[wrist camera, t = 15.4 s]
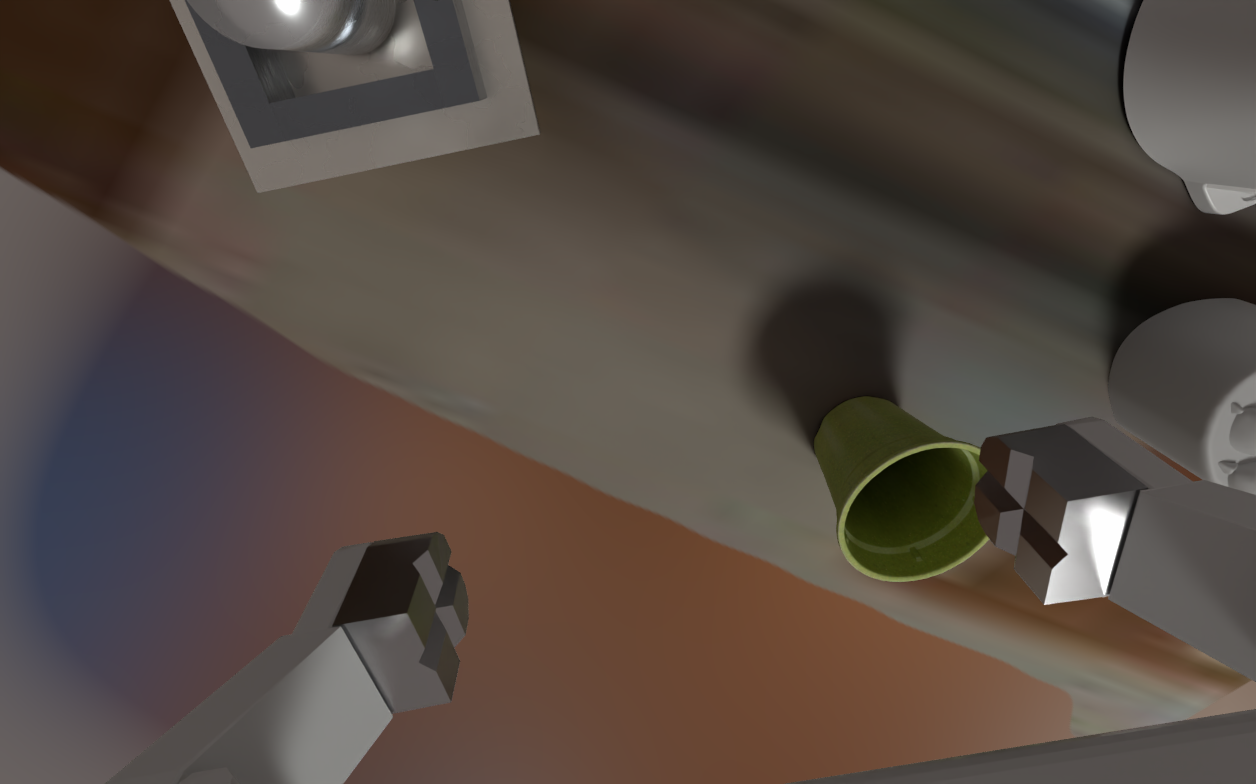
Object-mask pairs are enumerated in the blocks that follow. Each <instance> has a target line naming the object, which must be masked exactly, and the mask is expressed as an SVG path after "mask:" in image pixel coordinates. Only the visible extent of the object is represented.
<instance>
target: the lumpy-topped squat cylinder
mask: <svg viewBox="0 0 1256 784" xmlns="http://www.w3.org/2000/svg"><path fill="white" fill-rule="evenodd" d="M1108 393H1109V399H1110V404H1111V407H1112V411H1113V414H1114V417H1115V419H1116V421H1117V423H1118V424H1119V425H1120V426H1122V427H1123V428H1124V429H1125V430H1127V431H1128V432H1130V433H1131V434H1133V435H1134V436H1136V437H1137V438H1139V439H1140V440H1142V441H1144V442H1145V443H1147V444H1148V445H1150V446H1151V447H1153V448H1154V449H1156V450H1158V451H1159V452H1161V453H1162V454H1164V455H1165V456H1167V457H1168V458H1170V459H1172V460H1173V461H1175V462H1176V463H1178V464H1179V465H1181V466H1182V467H1184V468H1185V469H1187V470H1189V471H1190V472H1192V473H1193V474H1195V475H1196V476H1198V477H1199V478H1201V479H1203V480H1207V481H1210V482H1213V483H1217V484H1220V485H1224V486H1227V487H1230V488H1234V489H1237V490H1241V491H1244V492H1247V493H1251V494H1254V495H1256V305H1254V304H1251V303H1248V302H1245V301H1242V300H1239V299H1235V298H1216V299H1205V300H1197V301H1191V302H1187V303H1183V304H1180V305H1177V306H1175V307H1172V308H1170V309H1167V310H1165V311H1163V312H1160V313H1158V314H1156V315H1154V316H1153V317H1151V318H1149V319H1148V320H1146V321H1144V322H1143V323H1142V324H1140V325H1139V326H1138V327H1137V328H1135V329H1134V330H1133V331H1132V332H1131V333H1130V334H1129V335H1128V337H1127V338H1126V339H1125V340H1124V342H1123V343H1122V344H1121V346H1120V348H1119V349H1118V351H1117V353H1116V355H1115V358H1114V360H1113V363H1112V367H1111V371H1110V375H1109V381H1108Z"/></svg>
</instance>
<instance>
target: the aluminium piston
mask: <svg viewBox="0 0 1256 784" xmlns="http://www.w3.org/2000/svg"><path fill="white" fill-rule="evenodd" d="M187 2H188V3H189V4H190V5H191V7H192V8H193V9H194V11H195V12H196V13H197V14H198V15H199V16H200V17H201V18H202V19H203V20H204V21H205V22H206V23H207V24H209V25H210V26H211V27H212V28H213V29H215V30H216V31H218V32H219V33H220V34H222V35H224V36H225V37H227V38H229V39H231V40H233V41H235V42H238V43H240V44H243V45H246V46H250V47H255V48H261V49H274V50H287V51H301V52H314V53H328V54H341V55H360V54H364V53H367V52H370V51H372V50H374V49H375V48H377V47H378V46H379V45H380V44H381V43H382V42H384V40H385V39H386V38H387V36H388V35H389V33H390V31H391V29H392V26H393V23H394V19H395V11H396V1H395V0H187Z"/></svg>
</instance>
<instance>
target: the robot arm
mask: <svg viewBox="0 0 1256 784" xmlns="http://www.w3.org/2000/svg"><path fill="white" fill-rule="evenodd" d="M1123 91H1124V103H1125V110H1126V114H1127V119H1128V122H1129V125H1130V128H1131V130H1132V132H1133V135H1134V136H1135V138H1136V140H1137V142H1138V143H1139V145H1140V146H1141V148H1142V149H1143V150H1144V151H1145V152H1146V153H1147V154H1148V155H1149V156H1150V157H1151V158H1152V159H1153V160H1154V161H1156V162H1157V163H1159V164H1160V165H1162V166H1164V167H1165V168H1167V169H1169V170H1171V171H1172V172H1174V173H1175V174H1177V175H1178V176H1180V177H1181V178H1182V179H1183V180H1184V182H1185V185H1186V187H1187V190H1188V192H1189V194H1190V196H1191V198H1192V200H1193V202H1194V204H1195V205H1196V207H1197V208H1198V209H1199V210H1200V211H1202V212H1204V213H1212V214H1223V215H1224V214H1230V213H1233V212H1236V211H1238V210H1241V209H1243V208H1246V207H1249V206H1251V205H1254V204H1256V0H1143V2H1142V5H1141V7H1140V10H1139V12H1138V15H1137V17H1136V20H1135V23H1134V26H1133V29H1132V33H1131V36H1130V40H1129V44H1128V49H1127V54H1126V60H1125V66H1124V79H1123ZM979 462H980V463H981V464H982V465H983V466H984V467H985V468H986V470H987V472H986V473H985V474H984V476H983V477H982V478H981V479H980V480H979V481H978V483H977V484H976V485H975V497H974V505H975V509H976V513H977V517H978V521H979V523H980V525H981V527H982V529H983V530H984V532H985V534H986V535H987V537H988V538H989V539H990V540H991V542H992V543H993V544H994V545H995V546H996V547H998V548H1000V549H1002V550H1004V551H1006V552H1008V553H1011V554H1013V555H1015V565H1014V569H1015V571H1016V572H1017V573H1018V574H1019V575H1020V577H1021V578H1022V579H1023V580H1024V581H1025V582H1026V584H1027V585H1028V586H1029V587H1030V588H1031V590H1032V591H1033V592H1034V593H1035V594H1036V595H1037V597H1038V598H1039V599H1040V600H1041V601H1042V603H1043V604H1044V605H1046V604H1053V603H1061V602H1068V601H1075V600H1083V599H1090V598H1097V597H1105V596H1109V598H1108V599H1109V600H1111V601H1113V602H1114V603H1116V604H1118V605H1120V606H1121V607H1123V608H1125V609H1127V610H1129V611H1130V612H1132V613H1134V614H1136V615H1137V616H1139V617H1141V618H1143V619H1145V620H1146V621H1148V622H1150V623H1152V624H1154V625H1155V626H1157V627H1159V628H1161V629H1162V630H1164V631H1166V632H1168V633H1170V634H1171V635H1173V636H1175V637H1177V638H1178V639H1180V640H1182V641H1184V642H1186V643H1187V644H1189V645H1191V646H1193V647H1194V648H1196V649H1198V650H1200V651H1202V652H1203V653H1205V654H1207V655H1209V656H1210V657H1212V658H1214V659H1216V660H1218V661H1219V662H1221V663H1223V664H1225V665H1226V666H1228V667H1230V668H1232V669H1234V670H1235V671H1237V672H1239V673H1241V674H1242V675H1244V676H1246V677H1248V678H1250V679H1251V680H1253V681H1255V682H1256V495H1254V494H1251V493H1247V492H1244V491H1241V490H1237V489H1234V488H1230V487H1227V486H1224V485H1220V484H1217V483H1213V482H1210V481H1207V480H1202V481H1196V482H1192V481H1191V480H1190V479H1188V478H1187V477H1185V476H1184V475H1182V474H1181V473H1179V472H1178V471H1177V470H1175V469H1174V468H1172V467H1171V466H1169V465H1168V464H1167V463H1165V462H1164V461H1162V460H1161V459H1159V458H1158V457H1157V456H1155V455H1154V454H1152V453H1151V452H1149V451H1148V450H1146V449H1145V448H1144V447H1142V446H1141V445H1139V444H1138V443H1136V442H1135V441H1134V440H1132V439H1131V438H1129V437H1128V436H1126V435H1125V434H1124V433H1122V432H1121V431H1119V430H1118V429H1116V428H1115V427H1114V426H1112V425H1111V424H1109V423H1108V422H1106V421H1105V420H1102V419H1098V418H1095V417H1089V418H1084V419H1079V420H1074V421H1068V422H1063V423H1058V424H1056V425H1054V426H1047V427H1042V428H1036V429H1031V430H1025V431H1019V432H1014V433H1008V434H1003V435H997V436H991V437H986V439H985V440H984V442H983V444H982V445H981V449H980V455H979ZM450 555H451V549H450V547H449V545H448V543H447V541H446V539H445V537H444V535H443V534H440V533H438V532H434V533H428V534H420V535H414V536H407V537H400V538H394V539H387V540H380V541H374V542H373V543H363V544H357V545H351V546H344V547H341V548H340V549H339V550H337V551H336V552H334V554H333V556H332V557H331V560H330V561H329V563H328V565H327V568H326V569H325V571H324V573H323V575H322V577H321V579H320V581H319V583H318V585H317V587H316V589H315V591H314V593H313V594H312V596H311V598H310V600H309V602H308V604H307V606H306V608H305V610H304V612H303V614H302V616H301V618H300V620H299V622H298V624H297V626H296V628H295V629H294V631H293V633H292V634H291V635H286V636H281V637H280V638H279V639H277V640H276V641H275V642H274V643H273V644H271V645H270V646H269V647H268V648H267V649H266V650H264V651H263V652H262V653H261V654H259V655H258V656H257V657H256V658H255V659H253V660H252V661H251V662H250V663H249V664H248V665H246V666H245V667H244V668H243V669H242V670H240V671H239V672H238V673H237V674H236V675H235V676H233V677H232V678H231V679H230V680H228V681H227V682H226V683H225V684H224V685H223V686H221V687H220V688H219V689H218V690H216V691H215V692H214V693H213V694H212V695H210V696H209V697H208V698H207V699H206V700H204V701H203V702H202V703H201V704H200V705H199V706H197V707H196V708H195V709H194V710H192V711H191V712H190V713H189V714H188V715H186V716H185V717H184V718H183V719H182V720H180V721H179V722H178V723H177V724H176V725H174V727H172V728H171V729H170V730H169V731H167V732H166V733H165V734H164V735H162V737H160V738H159V739H158V740H157V741H155V742H154V743H153V744H152V745H150V746H149V747H148V748H147V749H146V750H144V751H143V752H142V753H141V754H140V755H139V756H137V757H136V758H135V759H134V760H133V761H131V762H130V763H129V764H128V765H127V766H125V767H124V768H123V769H122V770H121V771H119V772H118V773H117V774H116V775H115V776H113V777H112V778H111V779H110V780H109V781H107V782H106V783H105V784H343V783H344V782H345V780H346V779H347V778H348V776H349V775H350V774H351V772H352V771H353V770H354V768H355V767H356V766H357V764H358V763H359V762H360V760H361V759H362V757H363V756H364V755H365V754H366V752H367V751H368V750H369V748H370V747H371V746H372V744H373V743H374V741H375V740H376V739H377V738H378V736H379V735H380V734H381V732H382V731H383V729H384V728H385V727H386V726H387V724H388V723H389V722H390V720H391V719H392V718H393V715H392V714H393V713H398V712H403V711H408V710H414V709H419V708H424V707H429V706H434V705H439V704H445V703H449V702H451V701H452V696H453V691H454V687H455V682H456V677H457V673H458V668H459V663H460V660H459V658H458V655H457V653H456V651H455V649H454V647H455V646H456V645H457V644H458V643H459V642H460V641H461V639H462V638H463V637H464V636H465V635H466V629H467V624H468V596H467V591H466V587H465V583H464V581H463V578H462V576H461V573H460V572H458V571H457V570H455V569H453V568H452V567H450V566H449V565H448V562H449V558H450ZM787 784H1256V709H1254V710H1247V711H1241V712H1235V713H1229V714H1222V715H1215V716H1210V717H1204V718H1197V719H1190V720H1184V721H1177V722H1171V723H1165V724H1158V725H1152V726H1146V727H1139V728H1133V729H1127V730H1121V731H1114V732H1108V733H1102V734H1095V735H1089V736H1083V737H1077V738H1071V739H1064V740H1058V741H1052V742H1045V743H1039V744H1033V745H1027V746H1020V747H1014V748H1008V749H1001V750H995V751H989V752H982V753H976V754H970V755H964V756H958V757H951V758H945V759H939V760H932V761H926V762H920V763H914V764H908V765H901V766H894V767H888V768H882V769H876V770H870V771H863V772H857V773H850V774H844V775H838V776H831V777H825V778H818V779H812V780H806V781H800V782H793V783H787Z"/></svg>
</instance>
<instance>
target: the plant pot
mask: <svg viewBox="0 0 1256 784" xmlns="http://www.w3.org/2000/svg"><path fill="white" fill-rule="evenodd" d="M980 449H981V448H979V447H977V446H975V445H973V444H970V443H966V442H962V441H956V440H954V439H952V438H949V437H945V436H943V435H941V434H940V433H938V432H936V431H935V430H933V429H932V428H930V427H929V426H927V425H925V424H924V423H922V422H921V421H919V420H918V419H916V418H915V417H913V416H912V415H910V414H908V413H907V412H905V411H904V410H902V409H901V408H899V407H898V406H896V405H895V404H893V403H892V402H890V401H888V400H885V399H880V398H875V397H870V396H863V397H857V398H853V399H850V400H847V401H845V402H843V403H842V404H840V405H838V406H837V407H835V408H834V409H833V410H831V411H830V412H829V413H828V414H827V415H826V416H825V418H824V419H823V421H822V424H821V426H820V429H819V431H818V433H817V435H816V437H815V439H814V450H815V454H816V457H817V459H818V462H819V464H820V467H821V469H822V472H823V474H824V477H825V479H826V482H827V485H828V487H829V490H830V493H831V496H832V499H833V501H834V504H835V507H836V510H837V528H836V531H837V539H838V543H839V546H840V548H841V551H842V553H843V555H844V556H845V558H846V559H847V561H848V562H849V563H850V564H851V565H852V566H853V567H854V568H856V569H857V570H858V571H860V572H862V573H863V574H865V575H867V576H870V577H872V578H875V579H879V580H884V581H891V582H905V581H914V580H920V579H924V578H928V577H931V576H935V575H938V574H941V573H943V572H945V571H947V570H949V569H951V568H953V567H955V566H956V565H958V564H960V563H962V562H963V561H965V560H966V559H968V558H969V557H970V556H972V555H973V554H974V553H975V552H976V551H977V550H978V549H980V548H981V547H982V546H983V545H984V544H985V543H986V542H987V541H988V540H989V538H988V537H987V535H986V534H985V532H984V530H983V529H982V527H981V525H980V523H979V521H978V517H977V513H976V509H975V505H974V497H975V485H976V484H977V483H978V481H979V480H980V479H981V478H982V477H983V476H984V474H985V473H986V472H987V470H986V468H985V467H984V466H983V465H982V464H981V463H980V462H979V455H980Z"/></svg>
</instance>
